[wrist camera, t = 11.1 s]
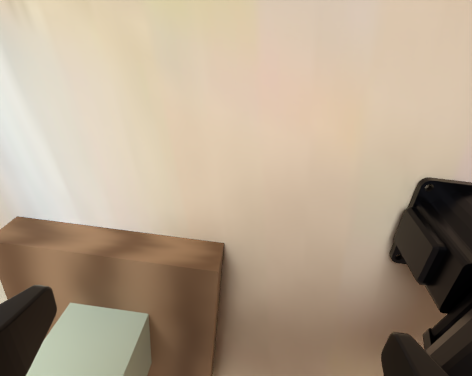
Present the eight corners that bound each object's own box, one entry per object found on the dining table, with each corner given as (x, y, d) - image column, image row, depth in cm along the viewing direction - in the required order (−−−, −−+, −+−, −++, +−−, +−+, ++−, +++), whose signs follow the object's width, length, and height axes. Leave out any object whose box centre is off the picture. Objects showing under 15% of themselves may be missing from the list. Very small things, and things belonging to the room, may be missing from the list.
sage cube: (148, 313, 24) (113, 398, 18) (151, 363, 26) (122, 448, 21) (70, 302, 24) (13, 383, 18) (81, 352, 27) (35, 434, 21)
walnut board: (224, 243, 24) (218, 271, 21) (212, 371, 31) (207, 404, 29) (17, 216, 24) (-14, 240, 22) (55, 348, 32) (36, 378, 29)
